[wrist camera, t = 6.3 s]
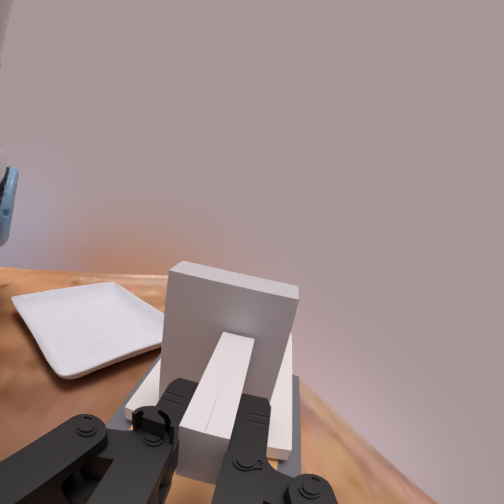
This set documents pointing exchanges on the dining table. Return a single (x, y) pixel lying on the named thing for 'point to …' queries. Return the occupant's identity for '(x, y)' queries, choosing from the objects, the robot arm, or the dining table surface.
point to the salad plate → (90, 326)
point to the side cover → (235, 322)
